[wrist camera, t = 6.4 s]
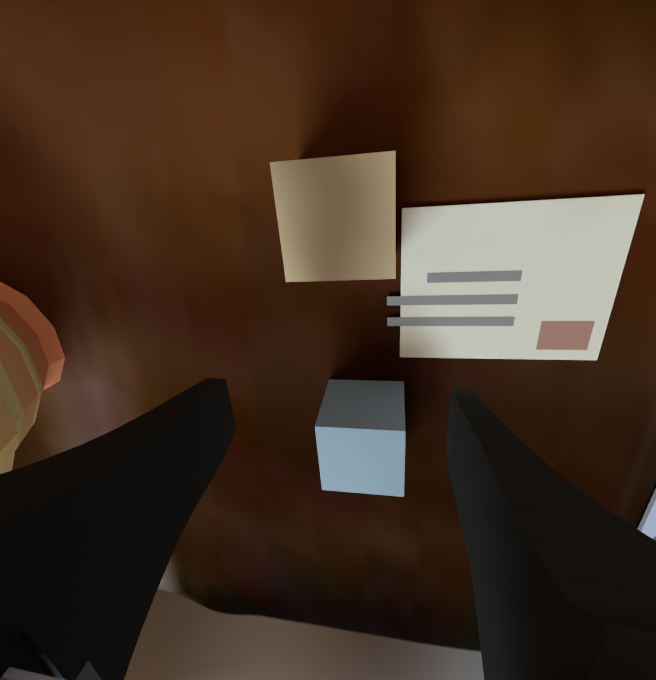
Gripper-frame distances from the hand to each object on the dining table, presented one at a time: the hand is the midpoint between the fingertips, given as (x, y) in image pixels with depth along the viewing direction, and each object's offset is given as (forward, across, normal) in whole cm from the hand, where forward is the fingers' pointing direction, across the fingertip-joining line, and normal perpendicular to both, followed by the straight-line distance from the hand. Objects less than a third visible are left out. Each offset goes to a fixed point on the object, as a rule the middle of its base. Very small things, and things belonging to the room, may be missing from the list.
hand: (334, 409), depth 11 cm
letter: (+9, -7, -1) cm, 12 cm away
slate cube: (+9, 0, +7) cm, 12 cm away
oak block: (+9, 0, -5) cm, 11 cm away
